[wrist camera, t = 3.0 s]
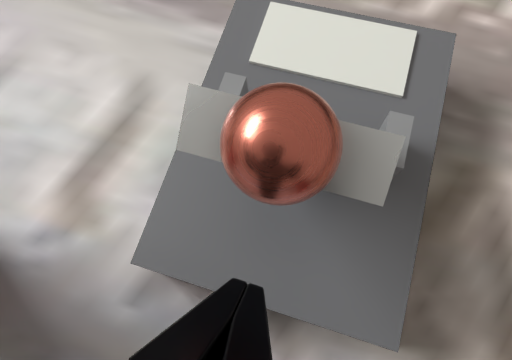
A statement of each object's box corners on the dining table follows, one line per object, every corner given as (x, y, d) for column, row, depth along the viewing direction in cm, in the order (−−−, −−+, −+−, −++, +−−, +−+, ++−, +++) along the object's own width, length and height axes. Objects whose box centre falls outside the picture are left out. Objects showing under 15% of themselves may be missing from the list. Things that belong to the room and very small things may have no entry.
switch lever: (357, 171, 17) (405, 261, 6) (246, 142, 18) (120, 177, 7) (373, 118, 17) (456, 116, 6) (258, 90, 18) (142, 43, 7)
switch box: (373, 340, 18) (419, 362, 12) (158, 269, 20) (106, 258, 14) (426, 77, 23) (480, -2, 17) (246, 37, 25) (234, -48, 19)
